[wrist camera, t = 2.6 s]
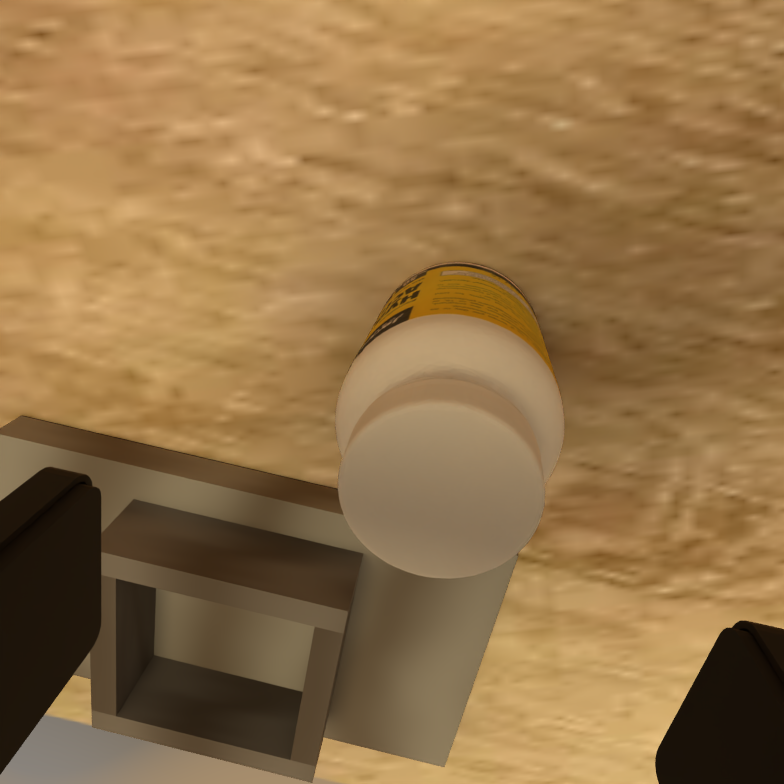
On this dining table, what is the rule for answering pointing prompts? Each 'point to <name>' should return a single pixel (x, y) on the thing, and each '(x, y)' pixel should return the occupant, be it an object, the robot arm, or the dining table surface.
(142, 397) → the dining table surface
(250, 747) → the collar board
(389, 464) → the supplement bottle
